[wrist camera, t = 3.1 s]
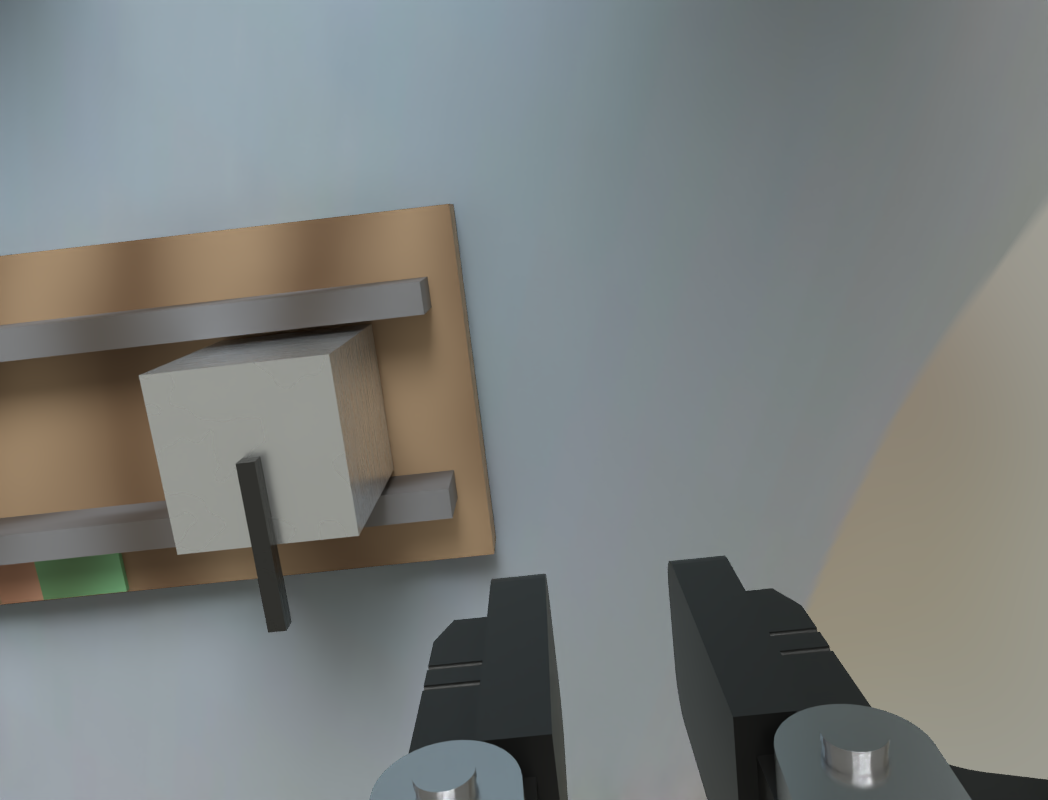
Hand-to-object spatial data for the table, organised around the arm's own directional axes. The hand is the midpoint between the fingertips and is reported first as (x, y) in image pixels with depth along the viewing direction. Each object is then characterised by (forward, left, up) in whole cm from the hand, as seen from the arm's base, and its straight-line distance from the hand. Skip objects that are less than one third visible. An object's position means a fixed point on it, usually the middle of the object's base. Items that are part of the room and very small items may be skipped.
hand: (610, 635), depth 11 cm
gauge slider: (+8, +1, -17) cm, 19 cm away
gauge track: (+14, 0, -19) cm, 24 cm away
